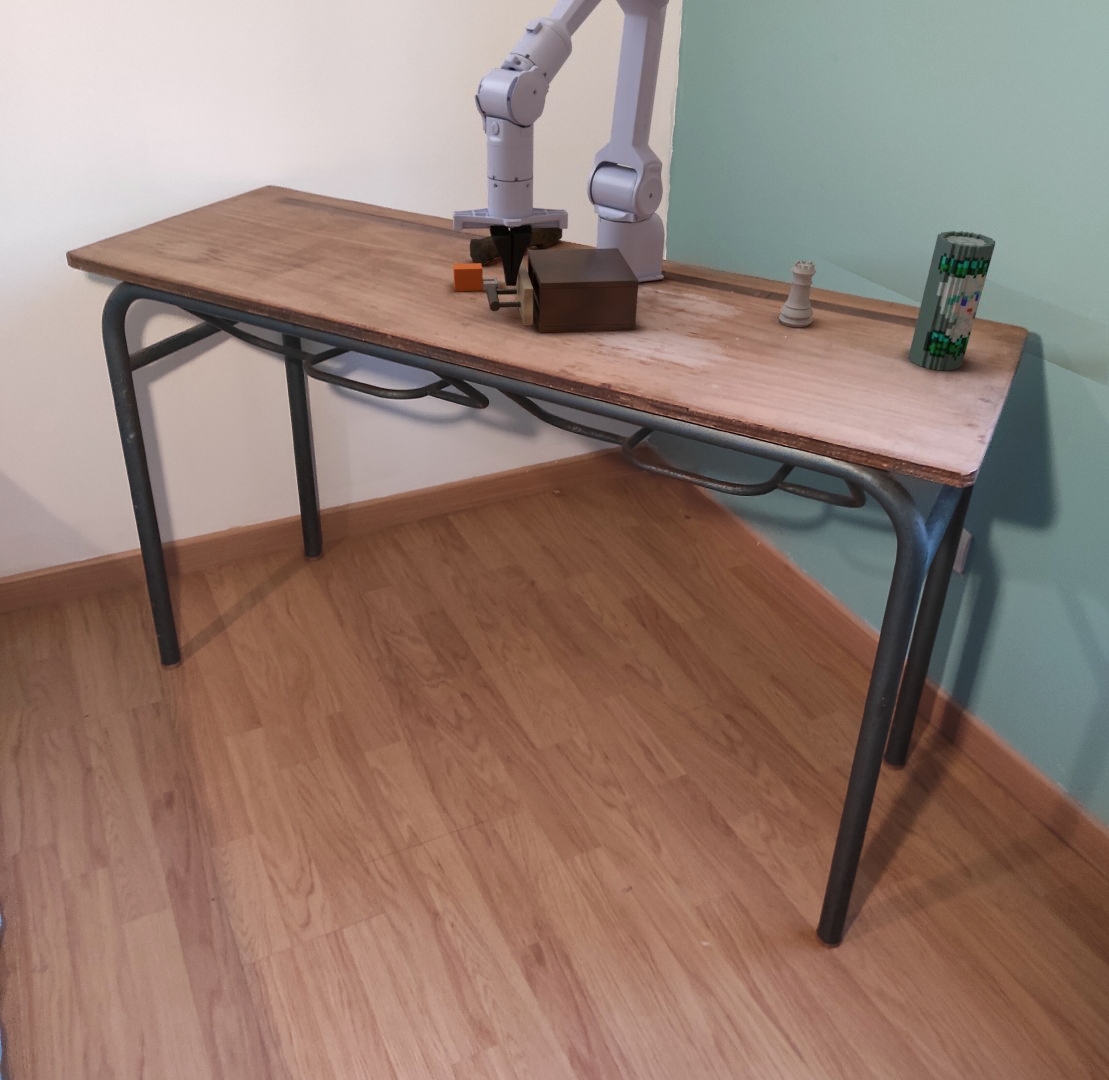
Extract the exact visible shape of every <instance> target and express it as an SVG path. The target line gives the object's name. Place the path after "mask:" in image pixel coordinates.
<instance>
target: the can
mask: <svg viewBox="0 0 1109 1080" xmlns="http://www.w3.org/2000/svg"><path fill="white" fill-rule="evenodd" d="M995 246H996V240H994V239H993V238H992V237H989V236H986V235H983V234H981V233H979V234H978V233H975V232H969V231H963V230H962V231H956V230H952V231H951V230H950V231H943V232H940V233H939V234H938V233H937V236H936V241H935V245H934V249H933V254H932V258H931V262H930V266H929V270H928V274H927V279H926V282H925V287H924V290H923V295H922V299H921V303H920V307H919V311H918V316H917V319H916V325H915V328H914V331H913V336H912V340H911V345H910V348H909V352H908V356H907V358H908V359H909V361H910V362H912V363H914V364H915V365H917V366H919V367H921V368H922V367H923V368H926V369H928V370H930V369H931V370H932V371H933V370H936V371H945V372H947V371H952V370H958V369H960V367H962V366H963V363H964V358H965V356H966V352H967V348H968V344H969V341H970V338H971V333H972V330H973V326H974V323H975V320H976V315H977V313H978V312H977V311H978V308H979V304H980V300H981V297H982V294H983V290H984V287H985V282H986V279H987V275H988V272H989V268H990V264H991V261H992V257H993V253H994V250H995Z"/></svg>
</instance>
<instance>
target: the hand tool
mask: <svg viewBox="0 0 1109 1080" xmlns="http://www.w3.org/2000/svg"><path fill="white" fill-rule="evenodd" d="M562 238H563V229H559V227H550V228H532V240H531V242H530V244H529V246H528V248H527V249H530V248H533V247H535V248H538V249H545V248H548V247H551V246H552V245H555V244H556V243H557V242H559V241H560V240H561V239H562ZM469 256H470V258H471V260H472V262H473V263H481V265H482V266H483V265H486V264H487V263H488V262H489V263H493V262H494V261H495V259H498V258H500V256H499V253H498V251H497V248H496V246H495V244H494V242H493V239H492V237H491V235H489V236H485V237H482V238H471V239H470V241H469Z"/></svg>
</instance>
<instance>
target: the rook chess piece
mask: <svg viewBox="0 0 1109 1080" xmlns="http://www.w3.org/2000/svg"><path fill="white" fill-rule="evenodd" d="M815 265H816V263H814V262H813V261H811V260H808V262H807V263H806V259H801V261H800V260H795V262H794V265H793V266H792V267H791V268H790V271H791V273H792V274H793V277H792V278H791V279H790V283H791V288H790V291H789V294H788V297H787V299H786V300H785V302H784V304H783V305H782V306H781V307H780V310H779V311H780V315H778V319H779V321H780V323H781V324H783V325H785V326H787V327H792V328H803V327H804V328H805V327H807V326H809V325H810V324H811V323H812V322H813V318H812V316H813V315H814V312H813V311H814V310H813V308H812V304H811V302H810V297H811V294H810V293H811V286H812V285H813V277H814V276H815V274H816V273H817V270H816V268H815Z"/></svg>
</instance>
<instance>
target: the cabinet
mask: <svg viewBox="0 0 1109 1080" xmlns="http://www.w3.org/2000/svg"><path fill="white" fill-rule="evenodd" d="M532 268H533V270H534V273H535V276H536V278H537V281H538V284H539V286H540V291H539V309H538V306H537V303H536V300H535V298H534V295H533V318H534V320H535V324H536V326H537V329H538V331H539V334H544V333H548V334H549V333H576V332H578V333H579V332H607V331H609V332H610V331H612V332H613V331H635V330H636V322H637V310H638V309H637V308H638V296H639V295H638V293H639V283H640V282H639V281H638V279H637V277H636V276H635V274H634V273H633V271H632V270H631V268H630V267H629V265H628V263H627V262H626V260H625V259H624V257H623V256H622V254H621V252H620V251H619V249H618V248H607V249H597V248H565V249H564V248H563V249H562V248H561V249H560V248H559V249H527V273H528V275H529V278H530V281H531V284H532Z"/></svg>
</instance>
